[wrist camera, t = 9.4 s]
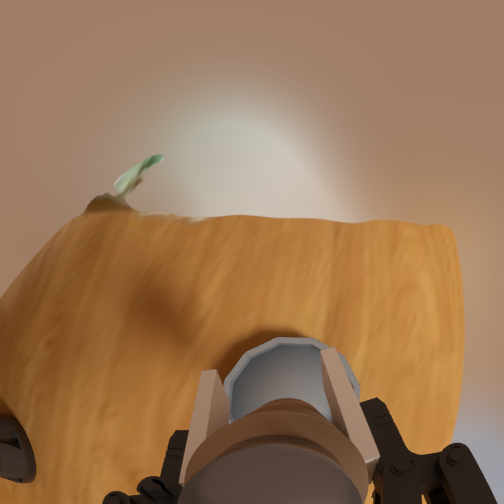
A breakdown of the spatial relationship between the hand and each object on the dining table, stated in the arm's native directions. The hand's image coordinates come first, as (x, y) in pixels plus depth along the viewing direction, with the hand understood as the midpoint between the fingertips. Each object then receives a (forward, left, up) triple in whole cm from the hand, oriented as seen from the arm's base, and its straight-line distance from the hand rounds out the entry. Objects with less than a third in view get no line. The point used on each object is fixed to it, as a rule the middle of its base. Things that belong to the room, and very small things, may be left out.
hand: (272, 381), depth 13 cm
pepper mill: (+1, -4, -4) cm, 6 cm away
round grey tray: (+1, -2, -19) cm, 19 cm away
